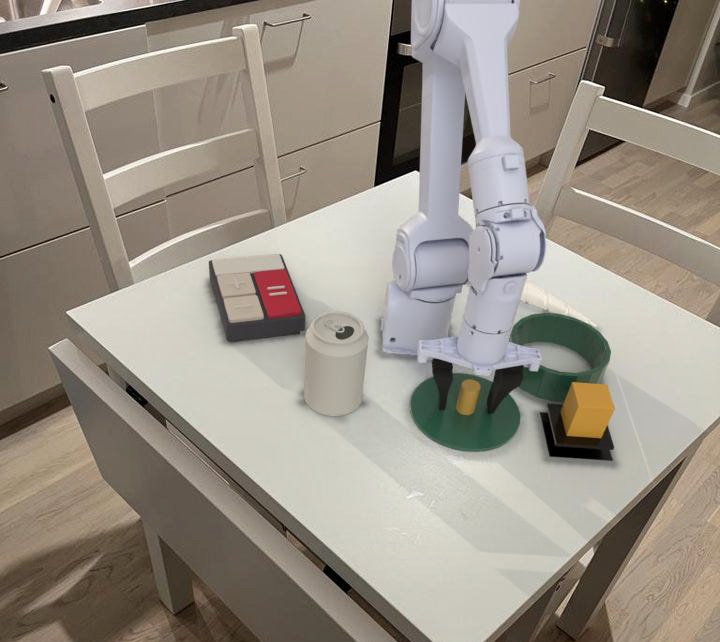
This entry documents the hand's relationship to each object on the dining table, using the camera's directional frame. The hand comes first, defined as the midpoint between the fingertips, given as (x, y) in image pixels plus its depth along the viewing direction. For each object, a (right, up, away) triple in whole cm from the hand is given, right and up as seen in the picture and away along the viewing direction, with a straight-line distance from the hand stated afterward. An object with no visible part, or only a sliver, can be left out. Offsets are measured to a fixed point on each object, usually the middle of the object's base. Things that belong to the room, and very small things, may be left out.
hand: (465, 406), depth 94 cm
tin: (+13, +6, +8) cm, 16 cm away
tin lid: (0, -1, +1) cm, 1 cm away
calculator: (-29, +16, +13) cm, 35 cm away
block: (+14, -2, -2) cm, 14 cm away
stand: (+14, -4, 0) cm, 14 cm away
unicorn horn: (+11, +19, +20) cm, 30 cm away
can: (-17, +1, +1) cm, 17 cm away
